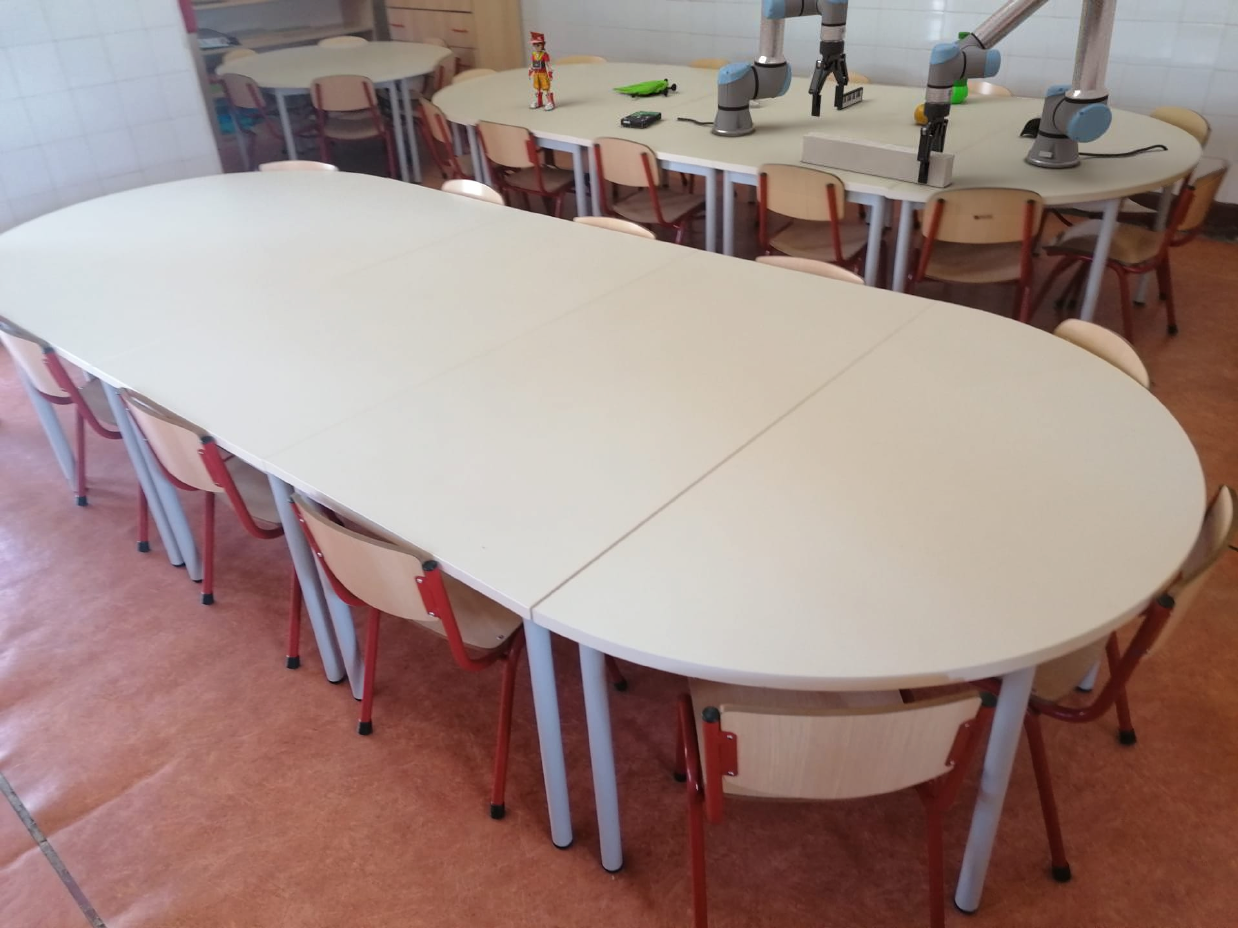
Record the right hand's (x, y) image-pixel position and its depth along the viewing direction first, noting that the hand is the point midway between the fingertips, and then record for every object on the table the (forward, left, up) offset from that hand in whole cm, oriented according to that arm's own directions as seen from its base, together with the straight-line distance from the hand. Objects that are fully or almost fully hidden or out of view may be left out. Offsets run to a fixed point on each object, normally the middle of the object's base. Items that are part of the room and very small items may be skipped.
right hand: (926, 180), depth 277 cm
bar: (+9, -16, -1) cm, 19 cm away
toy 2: (+39, -161, -1) cm, 166 cm away
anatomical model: (+9, -118, -1) cm, 119 cm away
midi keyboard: (-27, -96, -1) cm, 100 cm away
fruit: (-37, -57, -1) cm, 68 cm away
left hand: (+19, -32, +16) cm, 40 cm away
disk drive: (+56, -111, -1) cm, 124 cm away
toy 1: (+85, -156, -1) cm, 178 cm away
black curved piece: (-71, -31, -1) cm, 77 cm away
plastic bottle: (-64, -80, -1) cm, 102 cm away
